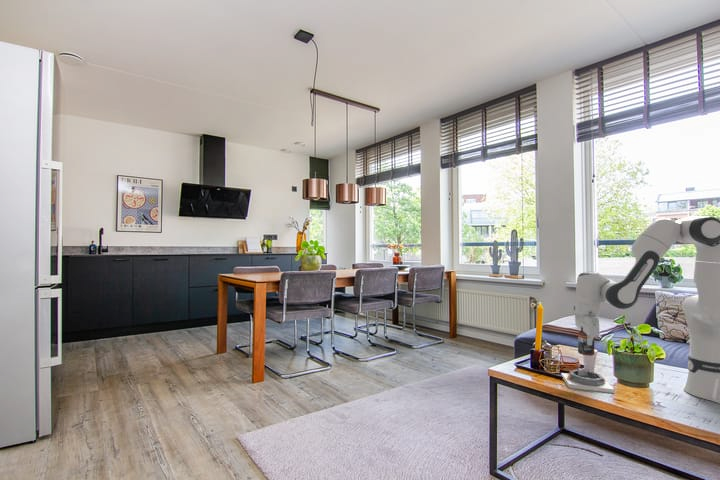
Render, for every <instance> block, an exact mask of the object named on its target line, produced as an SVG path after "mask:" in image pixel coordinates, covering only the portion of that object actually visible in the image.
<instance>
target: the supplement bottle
mask: <svg viewBox="0 0 720 480" xmlns="http://www.w3.org/2000/svg"><path fill="white" fill-rule="evenodd" d="M595 338H596V337H594V338H593V341H592V345H591V346H590V345H587V344H586V340H587V334H586V333H584V332H583V327H581V331H580V330H579V331H578V337H577V352H578V354H580V355H582V356H583V355H587V356H592V355H594V349H595V344H596V343H595V340H596V339H595Z"/></svg>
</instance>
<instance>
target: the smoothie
mask: <svg viewBox="0 0 720 480" xmlns="http://www.w3.org/2000/svg"><path fill="white" fill-rule="evenodd" d="M598 353H599V352H598V350H597V349H595V348H594V355H592V356H587V355H582V356H583V357H582V358H583V366H584V371H590V372H594V371H595V368H596V367H595V366H596V361H597V356H598Z"/></svg>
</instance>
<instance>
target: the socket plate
mask: <svg viewBox="0 0 720 480" xmlns="http://www.w3.org/2000/svg"><path fill="white" fill-rule="evenodd" d="M568 374H569V373H567V372H566V373H565V372H560V376H561V375H562V377H563V378H562V377H561V378H562V380H563V381H564V383H565V384H566V385H567V387H568V388H569V389H577V390H584V391H595V392H602V393H609V394H610V393H611V394H614V393H615V389H614V388H613V386H611V385H610V383H609V382H607V381H606V380H605V383H604V385H600V386H590V385H583V384H580V383H577V382H574V381H572V380H570V379H568ZM583 378H588V377H583ZM590 379H591V378H590Z"/></svg>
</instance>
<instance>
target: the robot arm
mask: <svg viewBox="0 0 720 480" xmlns="http://www.w3.org/2000/svg"><path fill="white" fill-rule="evenodd" d="M674 244H683V245H685V244H686V245H694V247H695V250H696V255H695V260H694V263H695V264H694V271H693V283H694V284H695V286H696V290H697V295H691V296H688V297H686V298H685V299H684V300H683V301H682V303H681V310H682V311H683V313H684V316H685V320H686V325H687V328H688V335H689V355H688V356H687V357H688V358H687V359H688V360H687V369H688V372H687V373H688V375H687V378H686V382H685V385H684V388H683V391H684V392H686V393H688V394H689V395H691V396H695V397H697V398H700V399H704V400H706V401H707V400H708V401H711V402H715V403H717V404H720V219H719V218H717V217H715V216H710V215H699V216H698V215H693V216H686V217H683V218H677V219H671V218H667V217H666V218H665V217H660V218H658V219H656V220H654V221H653V222H651V224H649V225H648V226H647V227H646V228H645V229H644V230H643V231H642V232H641V233H640V234H639V236H638V237H637V238H636V239H635V241H634V242H633V244H632V245H631V249H630V250H631V254H632V256H633V257H634V258H635V263H634V265H633V266H632V268H631V269H630V270H629V271H628V273H627V274H626V276H625V277H624V278H623V279H622V280H620V281H615V280H612V279H610V278H608V277H605V276H603V275H602V274H600V273H599V272H597V271H584V272H581V273H579V274H578V275H577V279H576V286H575V294H576V299H575V305H574V306H573V311H574V318H575V320H574V322H575V327H576V328H578V329H579V332H580V331H581V327H583V332H584V333H586V334H587V340H586V344H587V345H590V346H591V345H592V341H593V338H594V337H595V338H599V336H600V320H599V318H598V317H599V316H601V303H602V302H603V303H606V304H609V305H611V306H613V307H615V308H617V309H621V310H625V309H626V310H627V309H630V308H631V307H633V306H635V305H636V303H637V302H638V300H639V296H640V293H641V290H642V288H643V287H644V285H645V284H646V283H647V281H648V280H649V278H650V276H651V275H652V274H653V273H654V271H655V270H656V268H657V267H658V265H659V263H660V261H661V259H662V258H663V257H664V256H665V255H666V254H667V253H668V251H669V250H670V249H671V248H672V246H673V245H674Z"/></svg>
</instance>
